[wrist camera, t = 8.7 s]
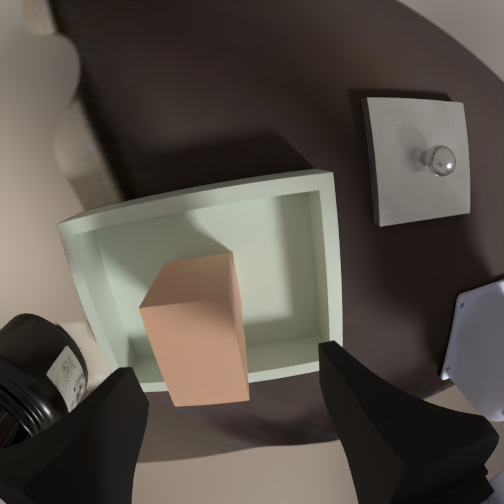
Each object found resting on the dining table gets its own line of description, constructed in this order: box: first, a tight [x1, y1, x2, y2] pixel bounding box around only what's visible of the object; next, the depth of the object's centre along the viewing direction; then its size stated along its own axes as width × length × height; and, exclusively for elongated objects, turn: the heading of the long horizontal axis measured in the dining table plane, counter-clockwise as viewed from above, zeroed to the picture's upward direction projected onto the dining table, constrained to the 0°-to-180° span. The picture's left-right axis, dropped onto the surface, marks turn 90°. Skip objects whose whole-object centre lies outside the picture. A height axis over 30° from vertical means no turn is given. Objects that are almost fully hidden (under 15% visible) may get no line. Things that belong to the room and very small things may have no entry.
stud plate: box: [361, 98, 470, 227], centre depth 16 cm, size 8×8×4 cm
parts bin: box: [57, 169, 342, 392], centre depth 18 cm, size 12×15×4 cm
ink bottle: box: [0, 314, 88, 450], centre depth 15 cm, size 10×9×12 cm
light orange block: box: [139, 253, 249, 406], centre depth 15 cm, size 3×5×8 cm, turn 8°
